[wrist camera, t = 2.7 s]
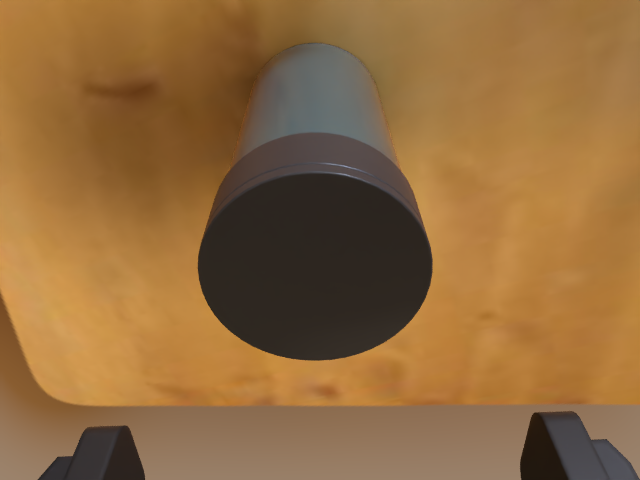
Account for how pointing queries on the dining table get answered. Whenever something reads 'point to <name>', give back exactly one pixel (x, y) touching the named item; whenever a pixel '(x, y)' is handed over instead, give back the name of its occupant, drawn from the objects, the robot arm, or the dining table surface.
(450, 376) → the dining table surface
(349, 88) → the jar
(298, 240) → the jar lid
